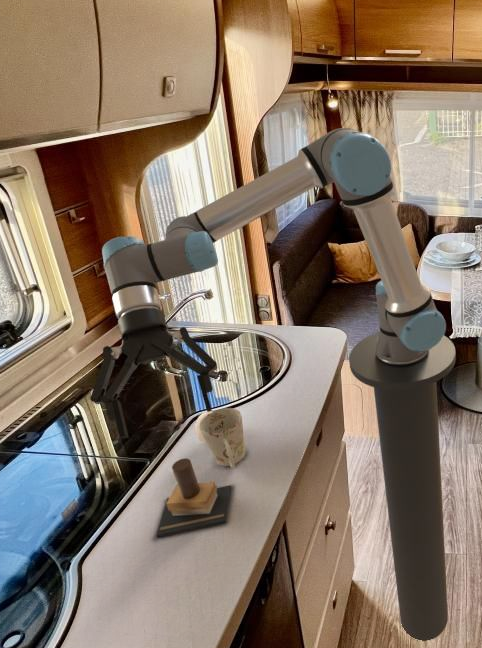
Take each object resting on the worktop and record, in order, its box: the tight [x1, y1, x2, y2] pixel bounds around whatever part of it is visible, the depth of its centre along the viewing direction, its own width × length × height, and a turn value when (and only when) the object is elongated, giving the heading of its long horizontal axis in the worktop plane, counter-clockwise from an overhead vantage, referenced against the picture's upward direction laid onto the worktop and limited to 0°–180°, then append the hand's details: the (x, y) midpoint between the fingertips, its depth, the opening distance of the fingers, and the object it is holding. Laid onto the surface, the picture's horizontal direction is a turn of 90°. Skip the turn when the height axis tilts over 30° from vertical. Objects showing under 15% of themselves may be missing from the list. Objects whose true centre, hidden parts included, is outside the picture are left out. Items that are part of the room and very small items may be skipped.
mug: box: [199, 407, 246, 469], centre depth 105 cm, size 8×13×10 cm, turn 33°
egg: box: [194, 410, 214, 445], centre depth 112 cm, size 6×6×8 cm
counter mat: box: [155, 484, 232, 538], centre depth 96 cm, size 12×9×1 cm
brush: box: [165, 458, 218, 516], centre depth 94 cm, size 7×5×10 cm, turn 92°
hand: (168, 423), depth 87 cm, fingers open, 13 cm apart
